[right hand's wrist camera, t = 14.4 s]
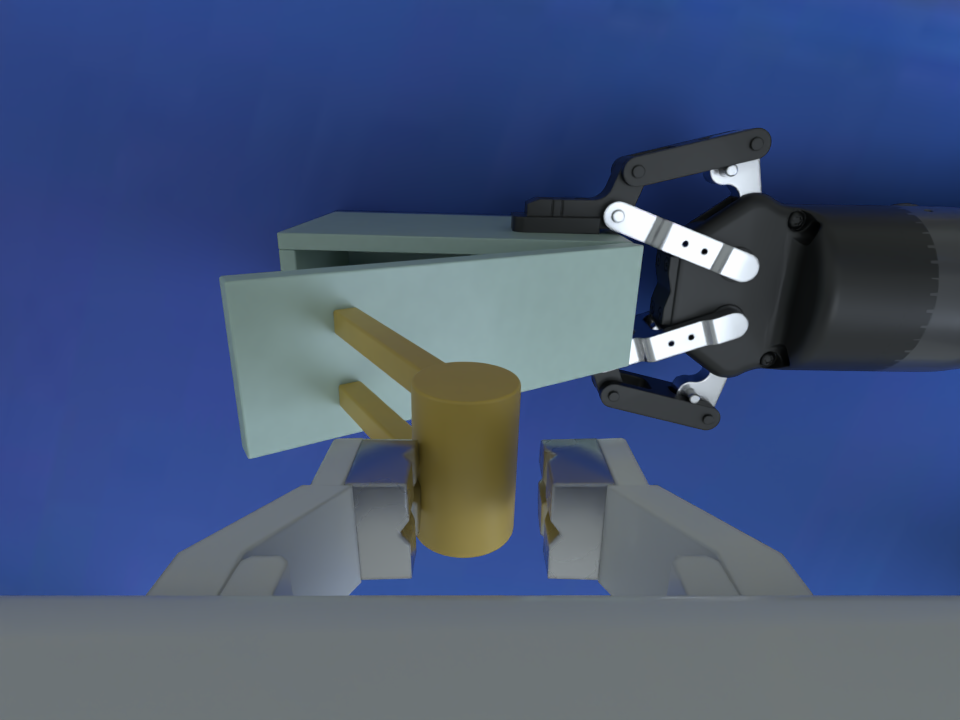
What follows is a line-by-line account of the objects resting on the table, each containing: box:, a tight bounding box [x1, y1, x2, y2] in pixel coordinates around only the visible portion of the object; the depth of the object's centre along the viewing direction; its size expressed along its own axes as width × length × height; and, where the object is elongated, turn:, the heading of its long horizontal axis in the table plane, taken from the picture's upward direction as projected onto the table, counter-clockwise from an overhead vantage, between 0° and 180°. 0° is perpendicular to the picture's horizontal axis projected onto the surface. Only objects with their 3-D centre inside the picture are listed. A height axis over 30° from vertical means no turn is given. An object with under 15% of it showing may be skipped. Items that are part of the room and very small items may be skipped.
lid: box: [219, 243, 644, 558], centre depth 15 cm, size 15×5×8 cm
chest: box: [277, 210, 633, 271], centre depth 27 cm, size 14×5×10 cm, turn 89°
